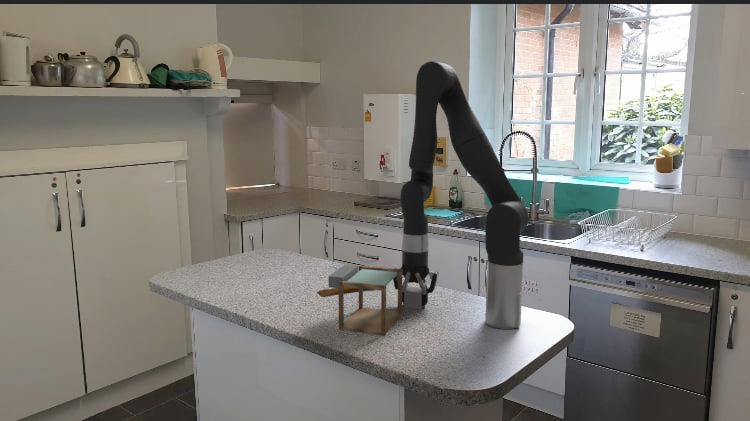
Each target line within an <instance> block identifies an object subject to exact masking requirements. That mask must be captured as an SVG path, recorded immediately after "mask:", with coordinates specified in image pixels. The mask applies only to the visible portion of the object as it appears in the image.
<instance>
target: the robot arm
mask: <svg viewBox="0 0 750 421" xmlns="http://www.w3.org/2000/svg"><path fill="white" fill-rule="evenodd" d="M415 80H416V81H415V109H414V111H415V113H414V114H415V115H414V125H413V126H414V128H413V136H412V143H411V148H410V154H409V158H408V167H409V169H411V174H410V180H409V181H407V182H405V183H404V184H403V185H402V187H401V190H400V197H399V198H400V205H401V212H402V216H403V217H402V218H403V226H402V227H403V233H402V234H403V235H402V242H401V243H402V244H401V250H402V251H401V255H402V256H401V267H399V268H397V267H394V268H393V269H402V277H403V278H404V280H403V281H402V305H404V291H405V290H406V289H407V288H408V286H409V285H410V283H411V284H412V283H414V284H418V285H419V288H421V290H422V292H423V294H422V306H423V307H426V305H427V304H428V302H429V294H433V292H434V291H435V288H436V286H437V282H438V277H439V272H438V271H431V270H430V268H429V232H428V231H429V219H428V214H426V213H425V206H424V205H425V202H427V201H428V200H429V199H430V197H431V196H432V192H433V187H434V166H435V160H436V155H437V149H438V130H437V128H438V127H437V113H438V112H437V111H438V106H440V107H441V109H442V111H443V112H444V116H445V117H446V121H447V125H448V131H449V139H450V142H451V145H452V148H453V149H454V152H455V154H456V156H457V158H458V160H459V162H460V163H461V165H462V167H463V169H464V170H465V171H466V172H467V173H468V175H469V176H470V177H471V178H472V179H473V180H474V181H475V182H476V183H477V184H478V185H479V186H480V188H481V189H482V190H483V191H484V194H486V196H487V198H488V201H489V203H490V205H491V207H490V209H488V212H487V214H486V218H485V232H484V234H485V236H484V237H485V238H484V239H485V240H484V241H485V243H484V244H485V251H486V253H487V263H486V264H487V267H486V293H485V313H484V314H485V315H484V317H485V318H484V322H485V324H487V325H488V326H490V327H492V328H495V329H501V330H502V329H503V330H504V329H505V330H508V329H509V330H510V329H511V330H512V329H520V327H521V322H522V321H521V320H522V302H523V270H524V269H523V268H524V252H523V250H521V243H520V242H521V232H523V231H524V230H525V229H526V228H527V226H528V224H529V221H530V220H529V219H530V218H529V217H530V216H529V212H528V210H527V208H526V206H525V204H524V203H523V201H522V199H521V198H520V196H519V195H518V194H517V192H516V190H515V189H514V187H513V185H512V184H511V183H510V182H511V181H510V180H509V179H508V177H507V175H506V173H505V171H504V169H503V167H502V164H501V163H500V161H499V160H500V159H498V156H497V155H496V153H495V151H494V149H493V146H492V144H491V142H490V140H489V138H488V136H487V135H486V133H485V131H484V129H483V128H482V126H481V123H480V122H479V120H478V118H477V116H476V114H475V113H474V111H473V109H472V107H471V106H470V103H469V101H468V99H467V97H466V94H465V92H464V88H463V87H462V84H461V81H460V79H459V76H458V73H457V71H456V69H454V68H453V67H452V66H451V65H450V64H448V63H444V62H439V61H433V60H432V61H427V62H425V63H424V64H422V65H421V66H420V67H419V69H418V71H417V74H416V79H415ZM428 275H429V279H430V280H431V281H430V284H429V287H428V285H427V284H428V283H427V281H426V277H427V276H428ZM392 281H393V286H394V290H397V291H398V274H397V276H396V277H395V278H394V279H393V280H392Z"/></svg>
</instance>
